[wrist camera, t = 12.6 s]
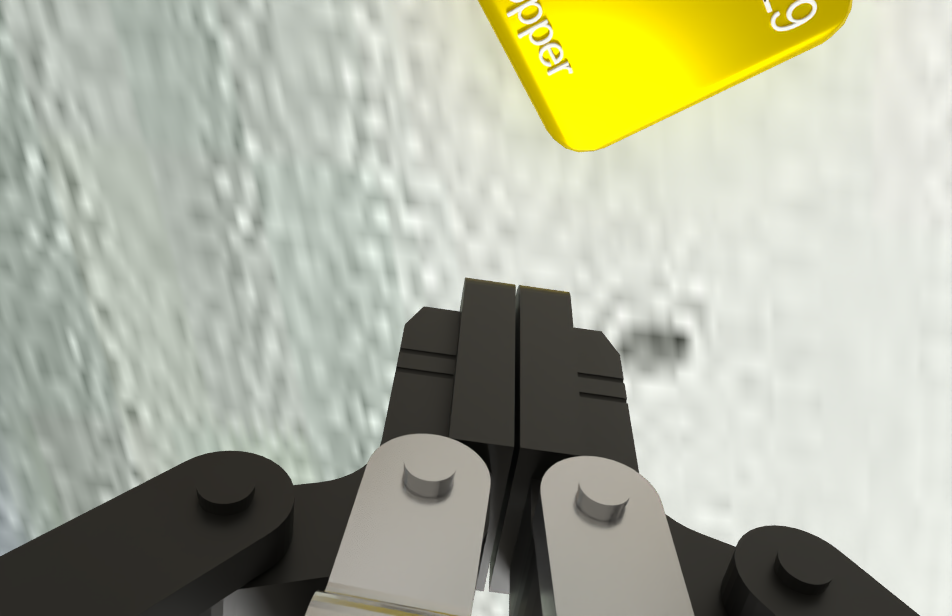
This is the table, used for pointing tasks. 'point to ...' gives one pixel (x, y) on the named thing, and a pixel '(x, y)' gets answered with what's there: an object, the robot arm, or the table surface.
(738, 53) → the yellow labelled tile
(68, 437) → the table surface
